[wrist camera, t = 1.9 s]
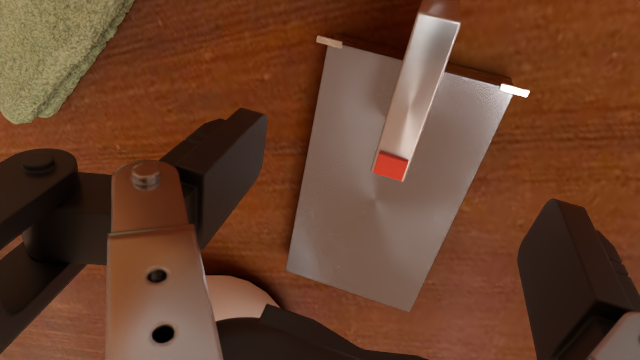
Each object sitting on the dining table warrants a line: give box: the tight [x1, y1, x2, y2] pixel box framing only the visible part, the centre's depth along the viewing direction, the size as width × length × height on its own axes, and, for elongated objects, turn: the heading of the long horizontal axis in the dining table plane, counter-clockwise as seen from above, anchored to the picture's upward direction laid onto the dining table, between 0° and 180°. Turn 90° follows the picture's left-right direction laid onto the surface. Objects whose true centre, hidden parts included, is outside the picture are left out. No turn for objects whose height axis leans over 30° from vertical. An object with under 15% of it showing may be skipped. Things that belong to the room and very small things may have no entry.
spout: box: [370, 0, 461, 182], centre depth 19 cm, size 7×2×6 cm, turn 170°
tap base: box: [286, 34, 530, 312], centre depth 25 cm, size 24×11×2 cm, turn 170°
